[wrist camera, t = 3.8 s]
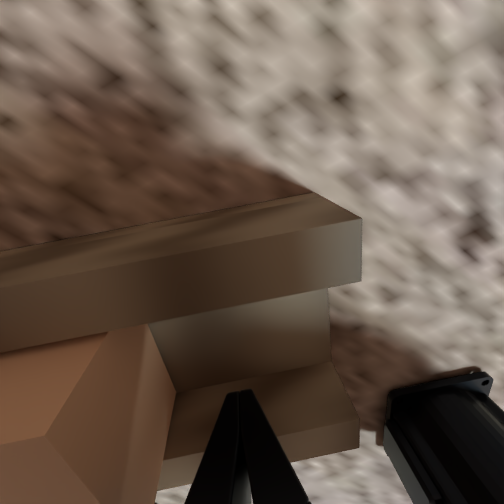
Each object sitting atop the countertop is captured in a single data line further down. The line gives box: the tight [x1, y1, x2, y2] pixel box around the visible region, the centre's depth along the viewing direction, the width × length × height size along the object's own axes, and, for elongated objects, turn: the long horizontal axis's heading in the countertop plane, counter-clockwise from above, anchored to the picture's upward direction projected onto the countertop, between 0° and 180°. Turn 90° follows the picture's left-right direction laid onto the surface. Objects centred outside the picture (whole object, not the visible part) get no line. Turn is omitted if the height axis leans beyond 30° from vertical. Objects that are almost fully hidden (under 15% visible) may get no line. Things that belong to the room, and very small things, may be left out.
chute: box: [0, 192, 362, 491], centre depth 10 cm, size 23×11×5 cm, turn 100°
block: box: [0, 324, 176, 504], centre depth 9 cm, size 5×6×6 cm
